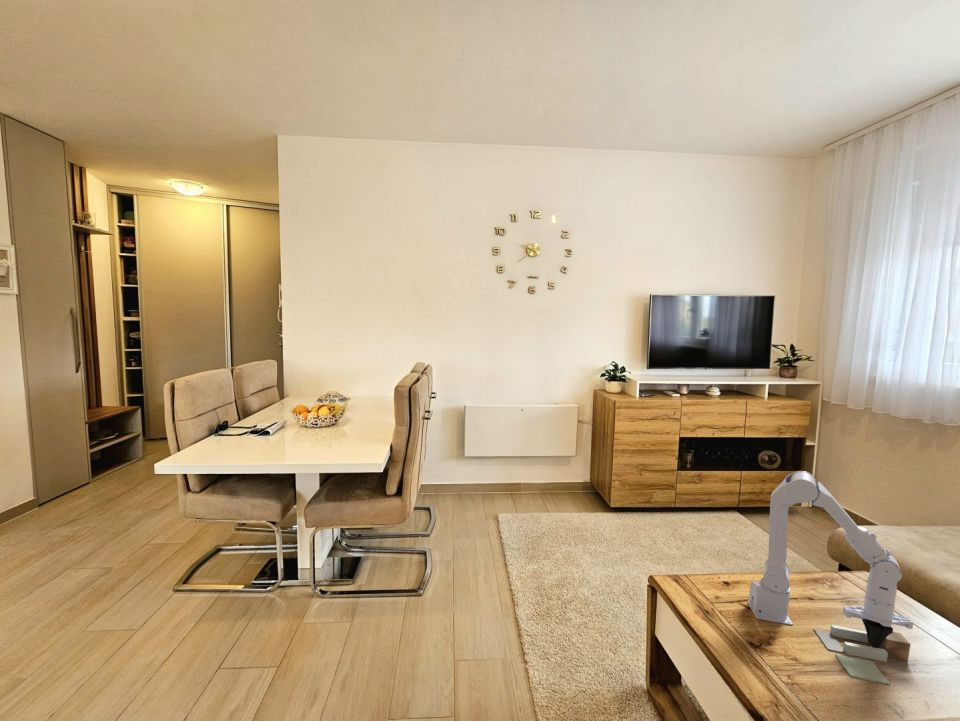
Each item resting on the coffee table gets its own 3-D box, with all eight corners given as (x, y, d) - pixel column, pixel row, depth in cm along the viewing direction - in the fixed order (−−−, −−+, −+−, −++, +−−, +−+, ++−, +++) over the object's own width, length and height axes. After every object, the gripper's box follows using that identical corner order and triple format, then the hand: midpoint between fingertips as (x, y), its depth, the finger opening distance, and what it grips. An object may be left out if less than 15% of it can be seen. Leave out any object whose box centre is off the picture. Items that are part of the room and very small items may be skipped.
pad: (850, 676, 107) (850, 674, 107) (835, 655, 113) (835, 653, 113) (889, 684, 105) (889, 683, 105) (871, 662, 111) (872, 661, 111)
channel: (827, 650, 115) (829, 641, 115) (813, 629, 123) (814, 621, 123) (886, 661, 112) (887, 653, 112) (868, 640, 119) (869, 631, 119)
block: (884, 656, 114) (887, 639, 113) (875, 645, 117) (877, 628, 117) (907, 661, 112) (910, 643, 112) (897, 650, 116) (900, 633, 116)
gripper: (856, 602, 112) (849, 650, 114) (924, 614, 109) (916, 664, 110) (841, 586, 119) (835, 631, 121) (905, 597, 115) (898, 644, 117)
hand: (873, 646), depth 116 cm, fingers closed
